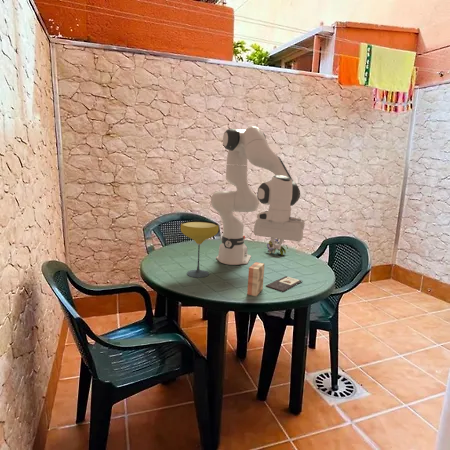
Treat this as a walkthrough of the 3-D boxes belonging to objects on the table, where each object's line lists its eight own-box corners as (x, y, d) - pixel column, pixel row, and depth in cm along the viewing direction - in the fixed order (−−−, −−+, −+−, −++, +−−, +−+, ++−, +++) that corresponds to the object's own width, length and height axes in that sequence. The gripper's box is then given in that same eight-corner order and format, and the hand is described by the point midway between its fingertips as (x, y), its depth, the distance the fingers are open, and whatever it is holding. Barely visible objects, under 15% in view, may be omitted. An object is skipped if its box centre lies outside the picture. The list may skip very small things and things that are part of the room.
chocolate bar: (265, 285, 156) (285, 276, 170) (265, 287, 156) (285, 277, 170) (283, 291, 150) (302, 280, 164) (282, 293, 151) (302, 282, 164)
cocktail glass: (200, 283, 156) (202, 229, 151) (171, 274, 166) (172, 223, 161) (223, 273, 170) (226, 224, 165) (195, 265, 180) (197, 218, 175)
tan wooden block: (254, 287, 154) (255, 262, 152) (262, 289, 153) (264, 263, 150) (247, 294, 146) (248, 267, 144) (256, 296, 144) (257, 269, 142)
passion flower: (269, 262, 210) (260, 245, 212) (281, 256, 217) (272, 239, 219) (281, 256, 202) (271, 238, 204) (292, 250, 208) (283, 233, 210)
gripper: (306, 217, 138) (303, 250, 141) (258, 212, 146) (256, 243, 149) (303, 219, 132) (300, 254, 135) (253, 214, 140) (251, 246, 143)
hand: (276, 248), depth 142 cm, fingers closed
